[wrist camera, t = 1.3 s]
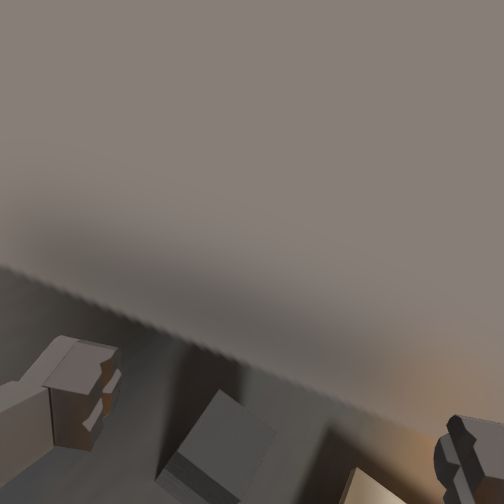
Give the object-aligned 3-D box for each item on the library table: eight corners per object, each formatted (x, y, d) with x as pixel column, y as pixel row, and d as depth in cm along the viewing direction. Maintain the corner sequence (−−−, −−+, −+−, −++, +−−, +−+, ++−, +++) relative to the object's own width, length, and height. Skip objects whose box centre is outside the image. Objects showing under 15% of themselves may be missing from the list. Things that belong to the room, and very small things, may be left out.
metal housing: (154, 481, 34) (176, 450, 27) (190, 429, 37) (219, 388, 30) (204, 521, 33) (241, 501, 26) (236, 464, 37) (277, 431, 29)
